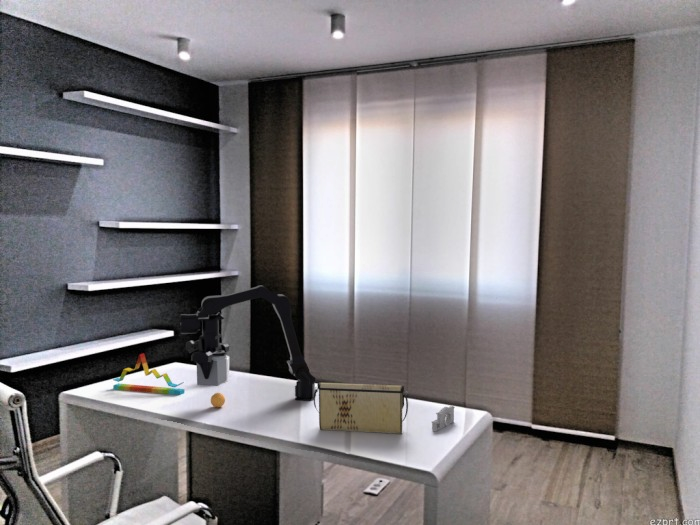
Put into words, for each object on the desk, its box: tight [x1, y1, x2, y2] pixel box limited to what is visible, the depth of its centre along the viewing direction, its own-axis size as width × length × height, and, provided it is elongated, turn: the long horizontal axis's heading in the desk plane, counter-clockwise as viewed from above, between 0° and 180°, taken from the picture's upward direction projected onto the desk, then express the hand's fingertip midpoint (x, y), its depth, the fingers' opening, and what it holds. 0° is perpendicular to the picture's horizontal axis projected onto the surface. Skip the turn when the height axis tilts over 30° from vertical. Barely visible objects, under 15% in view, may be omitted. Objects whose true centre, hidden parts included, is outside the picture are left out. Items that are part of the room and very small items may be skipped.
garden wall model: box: [431, 405, 455, 432], centre depth 180 cm, size 12×2×6 cm, turn 141°
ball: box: [210, 392, 226, 408], centre depth 202 cm, size 5×5×5 cm
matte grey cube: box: [196, 356, 228, 387], centre depth 202 cm, size 8×8×9 cm
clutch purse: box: [313, 381, 409, 435], centre depth 178 cm, size 30×7×15 cm, turn 80°
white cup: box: [224, 354, 230, 383], centre depth 238 cm, size 8×8×10 cm
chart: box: [112, 352, 185, 396], centre depth 223 cm, size 30×3×15 cm, turn 73°
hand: (211, 376), depth 202 cm, fingers closed on matte grey cube, 8 cm apart
